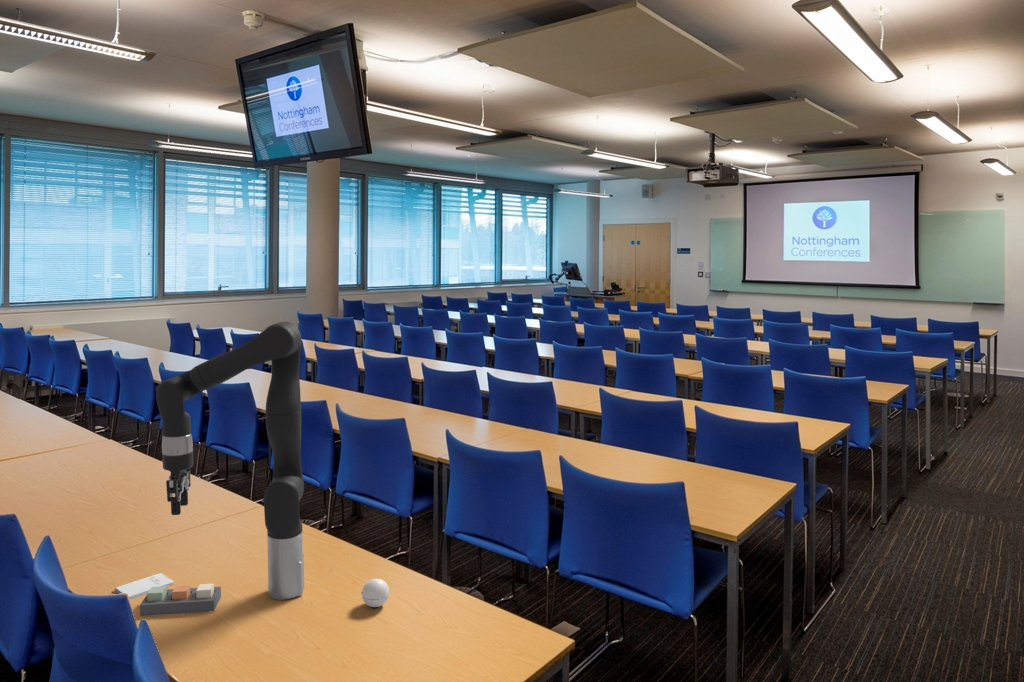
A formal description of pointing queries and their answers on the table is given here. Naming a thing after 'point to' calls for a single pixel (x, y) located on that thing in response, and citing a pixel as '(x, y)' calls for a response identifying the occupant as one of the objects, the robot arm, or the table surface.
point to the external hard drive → (144, 585)
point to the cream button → (205, 591)
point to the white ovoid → (375, 592)
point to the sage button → (157, 593)
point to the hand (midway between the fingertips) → (180, 509)
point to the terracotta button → (181, 592)
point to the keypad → (180, 604)
